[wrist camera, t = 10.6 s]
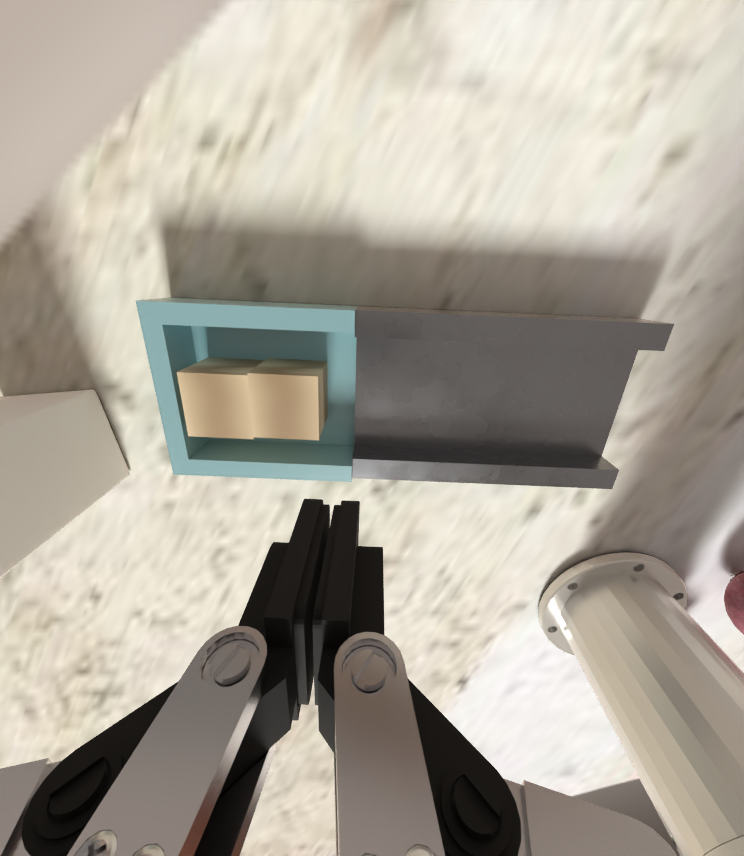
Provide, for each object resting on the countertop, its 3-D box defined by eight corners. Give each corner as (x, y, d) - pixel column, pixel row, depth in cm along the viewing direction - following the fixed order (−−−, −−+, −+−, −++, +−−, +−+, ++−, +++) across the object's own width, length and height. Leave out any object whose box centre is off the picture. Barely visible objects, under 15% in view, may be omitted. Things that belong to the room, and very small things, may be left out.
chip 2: (327, 361, 23) (317, 376, 19) (327, 416, 25) (319, 440, 21) (267, 358, 23) (247, 373, 19) (271, 413, 25) (253, 437, 21)
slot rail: (637, 318, 22) (674, 324, 19) (587, 467, 27) (611, 489, 24) (358, 306, 22) (355, 309, 19) (354, 457, 26) (351, 477, 24)
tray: (358, 305, 22) (354, 310, 19) (354, 457, 26) (351, 481, 23) (170, 297, 22) (135, 300, 19) (198, 450, 26) (173, 474, 23)
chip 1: (267, 360, 23) (247, 375, 20) (271, 415, 25) (253, 439, 21) (208, 357, 23) (176, 372, 19) (216, 412, 25) (188, 436, 21)
